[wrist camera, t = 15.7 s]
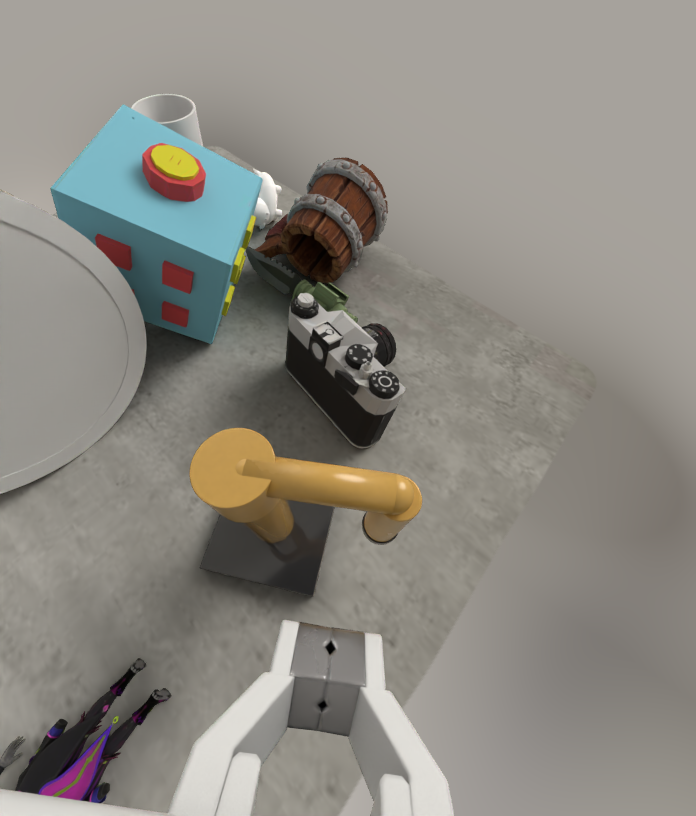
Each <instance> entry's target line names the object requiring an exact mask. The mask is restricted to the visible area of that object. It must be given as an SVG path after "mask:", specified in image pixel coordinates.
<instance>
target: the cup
mask: <svg viewBox="0 0 696 816" xmlns="http://www.w3.org/2000/svg"><path fill="white" fill-rule="evenodd" d="M131 109H133V110H135V111H137V112H139V113H141V114H142V115H144V116H146V117H148V118H150V119H152V120H154V121H156V122H158V123H159V124H161V125H163V126H165V127H167V128H169V129H171V130H173V131H174V132H176V133H178V134H180V135H182V136H184V137H186V138H188V139H190V140H191V141H193V142H195V143H197V144H199V145H201V146H203V143H202V138H201V133H200V129H199V123H198V118H197V113H196V108H195V104H194V103H193V101H191V100H190V99H188V98H186V97H184V96H180V95H174V94H160V95H153V96H149V97H145V98H143V99H141V100H139V101H137V102H136V103H135V104H134V105H133V106H132V108H131Z"/></svg>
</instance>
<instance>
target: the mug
mask: <svg viewBox="0 0 696 816" xmlns="http://www.w3.org/2000/svg"><path fill="white" fill-rule="evenodd" d="M385 197H386V195H385V192H384V190H383V187H382V185H381V183H380V182H379V180H378V179H377V178H376V176H375V175H374V173H373V172H372V171H371V170H369V169H368V168H367V167H365V166H364V165H363V164H362V165H361V166H358V161H355V160H352V159H349V158H334V159H333V160H328V161H326V162H325V163H323V164H322V163H320V164H318V166H317V169H316V171H315V172H314V174H313V176H312V178H311V179H310V181H309V183H308V185H307V194H306V195H304V196H302V197H300V198H296V199H295V201H294V205H293V206H292V208H291V210H290V212H289V214H286V215H285V216H284V217H283V218H282V219H281V220H280V221H279V222H278V223H276V224H275V226H274V227H273V228H272V229H270V230H269V231H268V233H267V235H266V237H265V240H266V241H265V242H264V243H263V244H262V245H261V246H260V247H258V248H256V249H255V250H256V251H258V252H260V253H262V254H263V255H265V258H267V257H270V258H272V257H274V256H276V255H280V254H287V255H286V256H287V258H288V259H289V261H290V262H291V264H292V265H293V266H294V267H295V268H296V269H297V270H298V271H299V272H300V273H302V274H303V275H305V276H306V277H307V276H308V275H310V279H312V280H314V281H317V282H322V283H331V282H334V280H337V279H338V278H339V277H340V276H341V274H342V273H343V272H347V271H349V270H350V269H351V268H352V267H357V266H358V260H359V259H360V257H361V254H362V250H363V247H364V246H367V245H370V244H371V243H372V242H373V241H378V240H379V235H380V234H381V232H382V231H383V229H384V226H385V223H386V220H387V213H388V211H387V201H386V200H384V198H385Z"/></svg>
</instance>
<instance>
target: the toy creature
mask: <svg viewBox="0 0 696 816" xmlns="http://www.w3.org/2000/svg"><path fill="white" fill-rule="evenodd" d="M254 173H255V175H257V176H259V177H261V178H262V179H263V181H262V185H261V189H260V193H259V196H258V200H257V204H256V208H255V211H254V215H253V216H255V217H256V221H255V224H254V225H256V226H259V228H260V231H261V228H262V230H263V228H265V224H269V223H270V222H271V221H272V220H276V219H277V217H278V218H281V216H282V210H279V209H276V208H277V194H278V195H279V194H280V193H281V187H280V186H278V185H275V184H274V182H273V179H272V178H271V176H270V175H269V174H267V173H266V172H263V173H261V172H259V171H257V170H255V169H254Z"/></svg>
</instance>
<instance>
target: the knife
mask: <svg viewBox="0 0 696 816" xmlns="http://www.w3.org/2000/svg"><path fill="white" fill-rule="evenodd" d="M246 253H247V256H248V259H249V261H250V263H251V265H252V267H253V268H254V270H255V271H256V272H257V273H258V274H259V275H260V276H261V277H262V278H263V279H264V280H265V281H267V282H268V283H269V284H271V285H272V286H274V287H275V288H276V289H278V290H279V291H280V292H282V293H283V294H285V295H286V294H288V293H291V294H293V296H292V299H294V298H295V297H296V296H298V295H299V294H300V293H308V294H311V295H312V296H313V298H314V299H315V300H316V301H317V302H318V304H319V305H321V306H322V307H323V308H324V309H325V310H326V311H327V312H332V311H340V310H343V311H344V312H345V313H346V314H347V315H348V316H349V317H350V318H352V319H353V320H354V321H355V322H356V323H357V321H358V318H357V317H356V316H353V315H352V314H351V313H349V314H348V310H347V309H346V308H345V307H344V305H345V303H346V301H347V300H348V298H349V296H348V295H347V294H345V293H344V292H343V291H341V290H340V289H338V288H337V287H336V286H334V285H333V284H332V283H328V286H327V287H326V286H324V285H323V284H322V283H320V282H318V283H317V285H316V287H313V285H312V284H310V283H309V282H308V281H307V280H301V279H300V277H299V275H298V274H297V273H295V272H294V273H292V270H291V269H289V270H287V267H286V266H284V267H283V264H282V263H281V262H279V263H277V260H274V259H273V260H272V261H271V258H270V257H267V258H265V255H263V254H262V253H260V252H258V251H256V250H254V249H252V248H250V247H248V246H247V249H246ZM291 301H292V300H291Z"/></svg>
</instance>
